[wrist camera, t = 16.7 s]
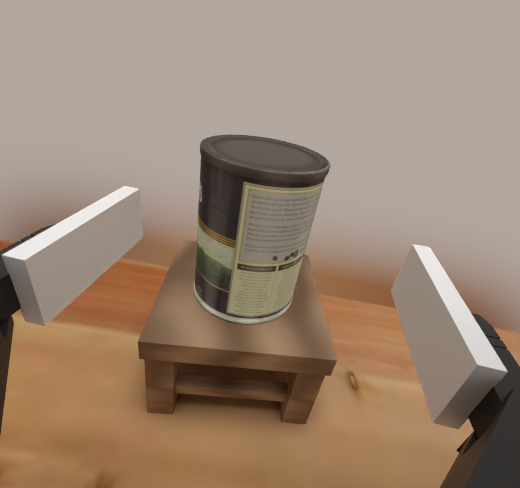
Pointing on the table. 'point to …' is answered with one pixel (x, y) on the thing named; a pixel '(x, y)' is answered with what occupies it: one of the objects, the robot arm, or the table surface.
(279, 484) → the table surface
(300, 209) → the coffee can
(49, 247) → the robot arm
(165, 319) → the stool
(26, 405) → the table surface
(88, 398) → the table surface
